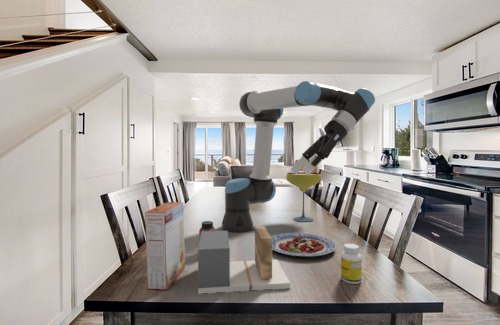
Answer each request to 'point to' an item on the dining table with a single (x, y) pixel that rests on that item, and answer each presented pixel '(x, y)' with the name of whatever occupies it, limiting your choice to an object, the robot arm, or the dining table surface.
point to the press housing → (231, 268)
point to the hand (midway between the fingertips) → (298, 172)
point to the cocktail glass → (303, 187)
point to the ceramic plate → (302, 244)
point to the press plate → (263, 252)
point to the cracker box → (164, 244)
